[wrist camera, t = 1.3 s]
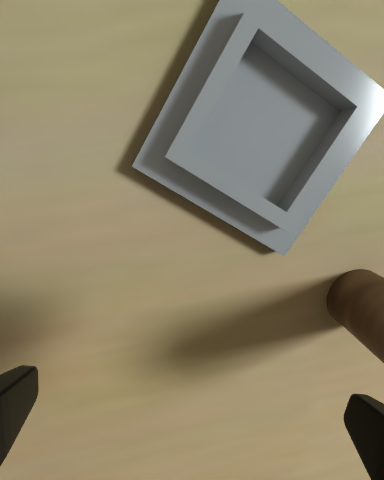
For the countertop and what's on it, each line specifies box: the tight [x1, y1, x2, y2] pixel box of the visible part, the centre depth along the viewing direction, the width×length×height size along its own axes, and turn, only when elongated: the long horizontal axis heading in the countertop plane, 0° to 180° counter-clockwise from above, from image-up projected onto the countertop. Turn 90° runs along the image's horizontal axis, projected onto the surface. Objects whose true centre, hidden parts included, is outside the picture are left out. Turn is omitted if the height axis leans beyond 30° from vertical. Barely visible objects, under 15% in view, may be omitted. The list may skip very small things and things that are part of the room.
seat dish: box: [132, 0, 384, 256], centre depth 17 cm, size 12×12×3 cm
